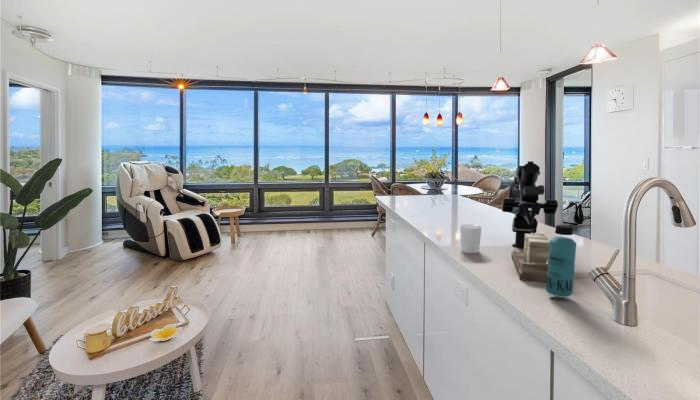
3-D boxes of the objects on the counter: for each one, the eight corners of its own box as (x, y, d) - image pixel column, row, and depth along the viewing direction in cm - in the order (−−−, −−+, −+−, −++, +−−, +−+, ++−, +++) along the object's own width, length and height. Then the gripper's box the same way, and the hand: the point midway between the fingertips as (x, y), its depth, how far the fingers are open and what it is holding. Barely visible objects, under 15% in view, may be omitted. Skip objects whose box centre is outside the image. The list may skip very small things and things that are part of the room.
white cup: (481, 254, 145) (482, 228, 143) (460, 253, 146) (461, 228, 145) (478, 249, 152) (480, 224, 151) (458, 248, 154) (459, 224, 153)
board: (511, 256, 141) (512, 243, 140) (546, 259, 137) (547, 245, 137) (520, 279, 116) (520, 263, 116) (563, 283, 113) (564, 266, 112)
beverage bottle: (546, 291, 107) (551, 222, 104) (573, 296, 103) (579, 224, 100) (543, 299, 101) (548, 226, 99) (571, 304, 98) (577, 229, 95)
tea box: (523, 258, 132) (524, 233, 131) (542, 259, 131) (543, 234, 129) (528, 269, 120) (530, 241, 119) (549, 271, 118) (551, 243, 117)
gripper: (504, 177, 144) (505, 210, 135) (558, 178, 139) (563, 212, 130) (501, 195, 153) (502, 227, 144) (552, 196, 147) (557, 230, 138)
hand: (530, 224), depth 139 cm, fingers closed
